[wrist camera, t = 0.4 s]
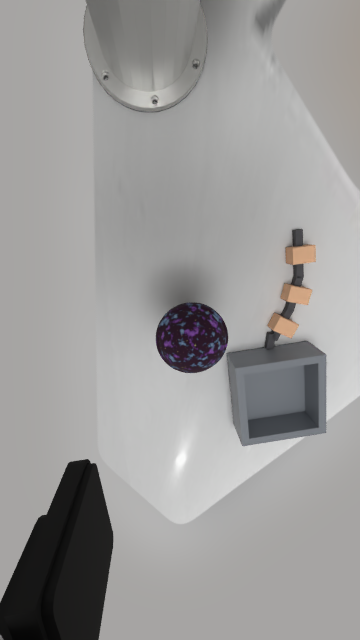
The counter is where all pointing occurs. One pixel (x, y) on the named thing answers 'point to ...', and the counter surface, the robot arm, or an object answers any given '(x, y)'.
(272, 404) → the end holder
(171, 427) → the counter surface
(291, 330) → the cable run
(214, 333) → the lollipop
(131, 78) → the robot arm
